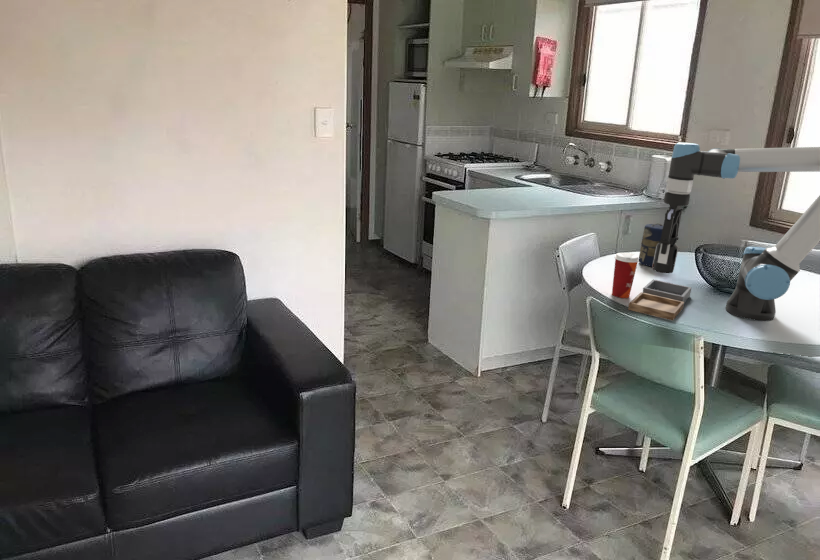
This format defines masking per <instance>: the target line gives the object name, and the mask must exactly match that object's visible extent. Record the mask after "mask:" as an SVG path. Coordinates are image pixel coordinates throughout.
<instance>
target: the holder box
mask: <svg viewBox="0 0 820 560" xmlns="http://www.w3.org/2000/svg"><path fill="white" fill-rule="evenodd" d="M642 293H647V294H651V295H656V296H660V297H664V298H669V299H673V300H678V301H682V302H684V304H685V303H686V302H687V301H688V299H690V297H691V293H692V287H691V286H685V285H681V284H677V283H672V282H667V281H663V280H658V279H651V280H650V281H649V282H648V283H647V284H646V285H644V287H643V288H642Z"/></svg>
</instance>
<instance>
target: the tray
mask: <svg viewBox="0 0 820 560" xmlns="http://www.w3.org/2000/svg"><path fill="white" fill-rule="evenodd" d="M684 305H685V303H684V302H682V301H678V300H673V299H669V298H664V297H660V296H656V295H651V294H647V293H643V291H642V292H640V293H638V294H637V295H636V296H635V297H634V298H632V299H631V300H630V301H629V302H628V307H627V310H628V311H633V312H636V313H640V314H644V315H648V316H651V317H652V316H653V317H656V318H661V319H664V320H669V321H674V320H675V319H676V318H677V317H678V315H679V314H680V313H681V312H682V311H683V309H684ZM681 310H682V311H681ZM676 316H677V317H676Z"/></svg>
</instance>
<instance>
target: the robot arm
mask: <svg viewBox="0 0 820 560" xmlns="http://www.w3.org/2000/svg"><path fill="white" fill-rule="evenodd" d="M669 165H670V166H669V170H668V177H667V179H666V180H665V184H666V188H665V189H666V192H665V193H664V196H663V203H664V204H666V205H669V206H668V209H666V211H665V214H664V222H663V224H662V225H663V230H662V235H661V239H660V241H659V243H661V247H660V252H659V257H658V263H663V264H667V259H668V254H669V249H670V240H671V236H672V235H674V236H676V237H677V241H679V239H680V238H679V230H680V225H681V218H682V214H683V211H684V209H683V208H682V207H686V206H689V204H690V198H691V194H690V193H691V192H692V189H693V183H694V177H695V176H704V177H712V178H718V179H719V178H720V179H735V178H736V177H737V175H738V173H775V172H776V173H783V172H784V173H787V172H789V173H790V172H791V173H793V172H794V173H795V172H796V173H797V172H798V173H800V172H801V173H802V172H803V173H807V172H808V173H812V172H816V173H817V172H820V146H810V147H809V146H807V147H806V146H805V147H803V146H801V147H797V146H796V147H764V148H763V147H760V148H759V147H758V148H756V147H755V148H754V147H753V148H721V147H716V148H715V147H714V148H711V149H709V150H708V151H704V150H701V147H700V144H698V143H692V142H677V143H675V144H674V146H673V150H672V154H671V160H670V164H669ZM665 239H666V240H665ZM819 243H820V195H818V196H817V197H816V199H815V200H814V201H813V202H812V204H810V205H809V207H807V209H806V210H805V212H803V213H802V215H800V217H799V218H798V219H797V220H796V221H795V223H794V224H793V225H792V226H791V227H790V228H789V229H788V231H787V232H786V233H785V234H784V235H783V236H782V237H781V239H779V241H778V242H777V243H776V244H775V245H774V246H771V247H761V246H747V247H745V249H744V251H743V253H742V259H741V260H742V261H741V264H740V268H739V273H738V277H737V282H736V286H735V288H734V290H733V292H732V294H731V295H730V296H729V298H728V299H727V301H726V304H725V310H726V312H728V313H730V314H732V315H734V316H736V317H739V318H743V319H745V320H746V319H747V320H750V321H758V322H760V321H761V322H763V321H764V322H766V321H767V322H769V321H773V320H774V319H775V318H776V312H777V311H776V303H775V299H776V300H777V299H778V298H779V299H780V298H781V297H783V296H784V295H785V294H786V293H787V292H788V290H789V288H790V285H791V281H792V280H793V279H794V278H795V277H796V276H797V274H798V273H799V272H800V271H801V267H800V264H801V263H802V262H803V260H804V259H805V258H806V257H807V256H808V255H809V254H810V252H811V251H812V250H813V249H815V247H816V246H817V245H818V244H819Z"/></svg>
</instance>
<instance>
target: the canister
mask: <svg viewBox="0 0 820 560" xmlns="http://www.w3.org/2000/svg"><path fill="white" fill-rule="evenodd" d="M663 225H664V224H661V223H647V224H645V225H644V228H643V232H642V233H643V234H642V238H641V242H640V249H639V255H638V259H639V262H638V263H639V264H640V265H643V266H647V267H652V265H653V260H654V255H655V250H656V246H657V244H658V243H659V241H660V239H661V235H662V230H663Z"/></svg>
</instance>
